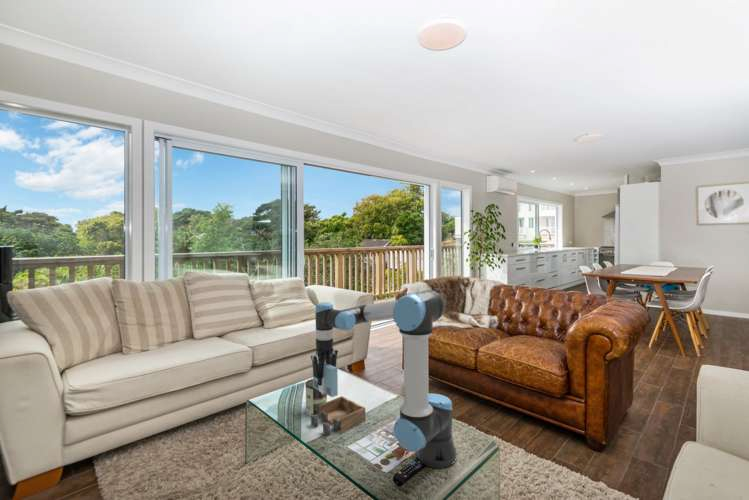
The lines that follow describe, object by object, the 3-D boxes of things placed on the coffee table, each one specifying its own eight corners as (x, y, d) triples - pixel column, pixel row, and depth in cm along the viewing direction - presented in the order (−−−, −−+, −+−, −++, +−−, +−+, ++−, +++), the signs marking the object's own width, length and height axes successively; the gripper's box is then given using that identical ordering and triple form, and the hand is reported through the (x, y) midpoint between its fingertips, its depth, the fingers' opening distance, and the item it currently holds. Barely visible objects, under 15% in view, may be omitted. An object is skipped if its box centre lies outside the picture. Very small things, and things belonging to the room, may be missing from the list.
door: (312, 387, 164) (312, 361, 163) (318, 385, 166) (318, 359, 166) (331, 397, 154) (331, 369, 153) (337, 395, 156) (337, 367, 156)
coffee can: (330, 406, 180) (329, 378, 179) (323, 417, 170) (322, 387, 169) (310, 405, 182) (310, 377, 181) (302, 415, 172) (301, 385, 171)
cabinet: (365, 420, 166) (365, 407, 166) (331, 437, 153) (331, 423, 152) (341, 408, 179) (341, 396, 178) (308, 422, 165) (308, 409, 165)
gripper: (333, 332, 167) (334, 382, 169) (304, 340, 156) (304, 393, 157) (344, 336, 162) (344, 387, 163) (314, 344, 151) (314, 399, 152)
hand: (325, 390), depth 160 cm, fingers closed on door, 3 cm apart
